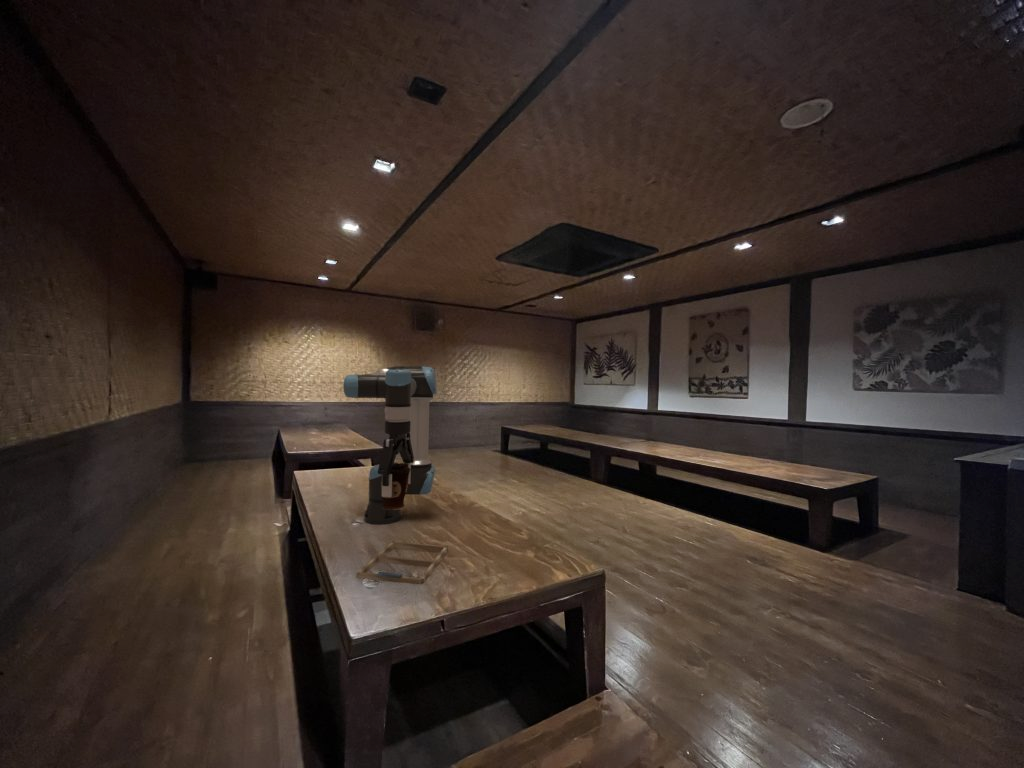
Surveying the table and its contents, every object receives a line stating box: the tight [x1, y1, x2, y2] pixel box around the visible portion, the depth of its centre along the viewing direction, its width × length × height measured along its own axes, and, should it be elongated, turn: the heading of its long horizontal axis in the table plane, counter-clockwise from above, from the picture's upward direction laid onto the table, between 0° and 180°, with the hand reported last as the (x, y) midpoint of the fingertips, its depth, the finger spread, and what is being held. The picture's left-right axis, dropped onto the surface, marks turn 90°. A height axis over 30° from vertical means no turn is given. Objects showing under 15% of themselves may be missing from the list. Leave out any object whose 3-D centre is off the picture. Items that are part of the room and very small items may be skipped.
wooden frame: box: [355, 540, 449, 585], centre depth 123 cm, size 23×20×3 cm
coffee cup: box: [381, 462, 410, 510], centre depth 118 cm, size 9×8×13 cm
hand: (396, 489), depth 120 cm, fingers open, 13 cm apart
